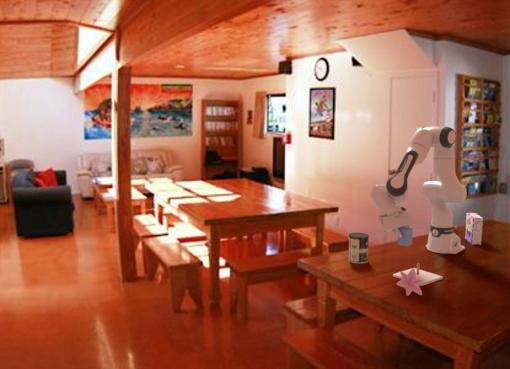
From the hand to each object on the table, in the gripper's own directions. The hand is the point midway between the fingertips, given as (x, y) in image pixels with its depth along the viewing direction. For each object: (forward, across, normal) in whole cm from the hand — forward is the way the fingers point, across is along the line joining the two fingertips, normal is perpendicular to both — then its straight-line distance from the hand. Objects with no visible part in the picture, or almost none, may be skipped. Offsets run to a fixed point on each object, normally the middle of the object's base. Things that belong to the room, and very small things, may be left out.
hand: (406, 236), depth 239 cm
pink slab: (+20, -4, +5) cm, 21 cm away
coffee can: (-5, -7, +30) cm, 31 cm away
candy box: (+5, +76, +20) cm, 79 cm away
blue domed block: (+3, 0, +4) cm, 4 cm away
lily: (+27, -22, -2) cm, 35 cm away
